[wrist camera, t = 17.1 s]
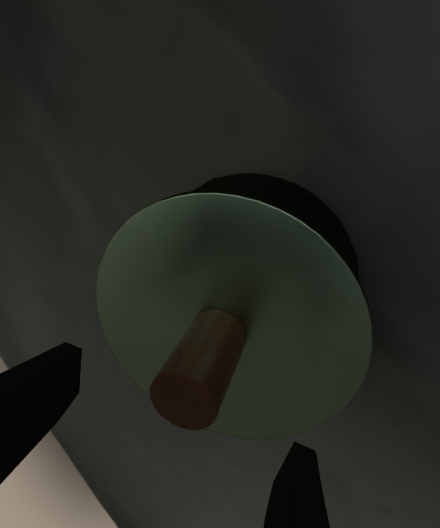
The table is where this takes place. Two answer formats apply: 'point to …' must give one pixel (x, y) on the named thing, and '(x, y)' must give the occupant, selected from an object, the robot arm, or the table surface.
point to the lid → (234, 315)
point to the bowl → (290, 205)
